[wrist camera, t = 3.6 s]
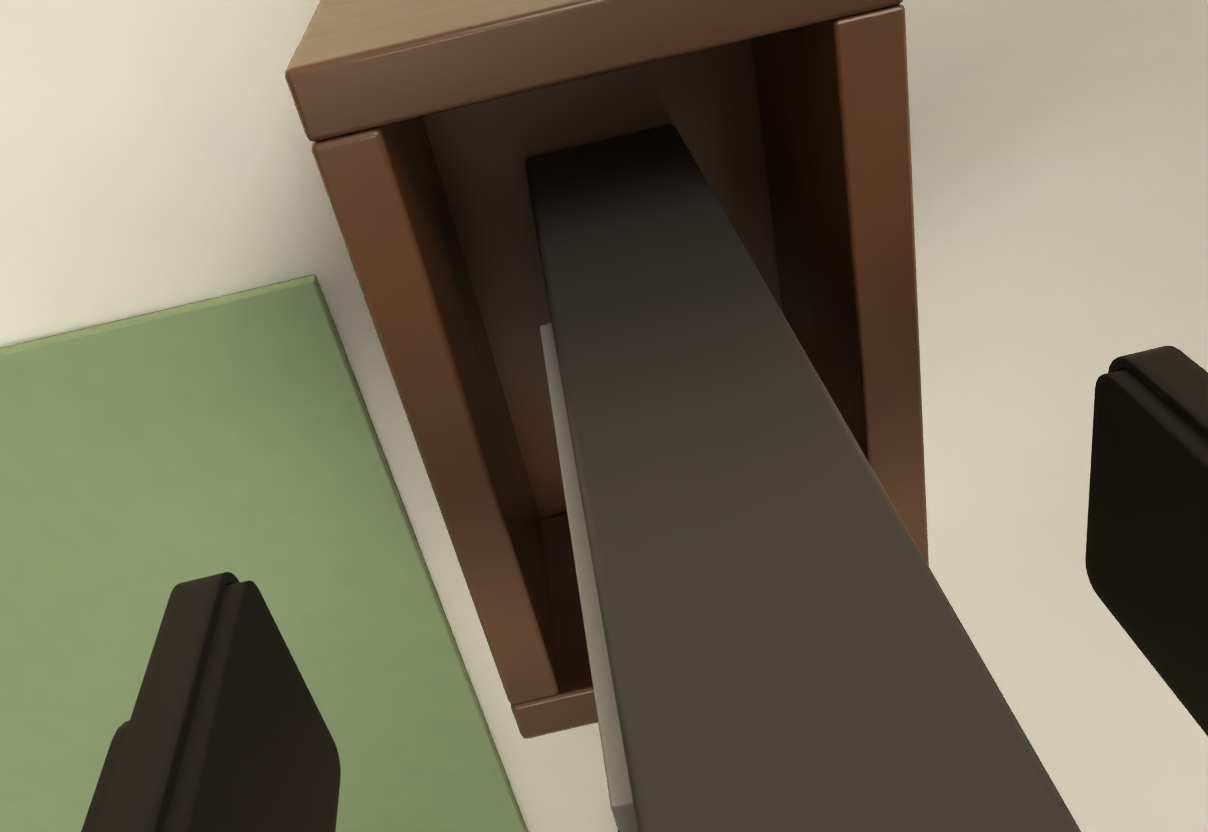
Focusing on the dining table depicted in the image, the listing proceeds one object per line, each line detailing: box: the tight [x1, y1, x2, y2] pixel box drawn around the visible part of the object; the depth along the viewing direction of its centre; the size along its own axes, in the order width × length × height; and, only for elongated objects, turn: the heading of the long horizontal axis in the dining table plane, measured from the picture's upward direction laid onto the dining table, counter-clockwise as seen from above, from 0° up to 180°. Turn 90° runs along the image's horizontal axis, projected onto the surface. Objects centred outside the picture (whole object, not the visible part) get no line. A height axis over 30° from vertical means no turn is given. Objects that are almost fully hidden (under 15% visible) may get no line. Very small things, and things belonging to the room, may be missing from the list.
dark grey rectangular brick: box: [525, 126, 1081, 832], centre depth 12 cm, size 5×3×14 cm, turn 11°
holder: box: [285, 0, 929, 738], centre depth 16 cm, size 11×7×5 cm, turn 11°
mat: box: [0, 275, 527, 832], centre depth 23 cm, size 20×18×1 cm
